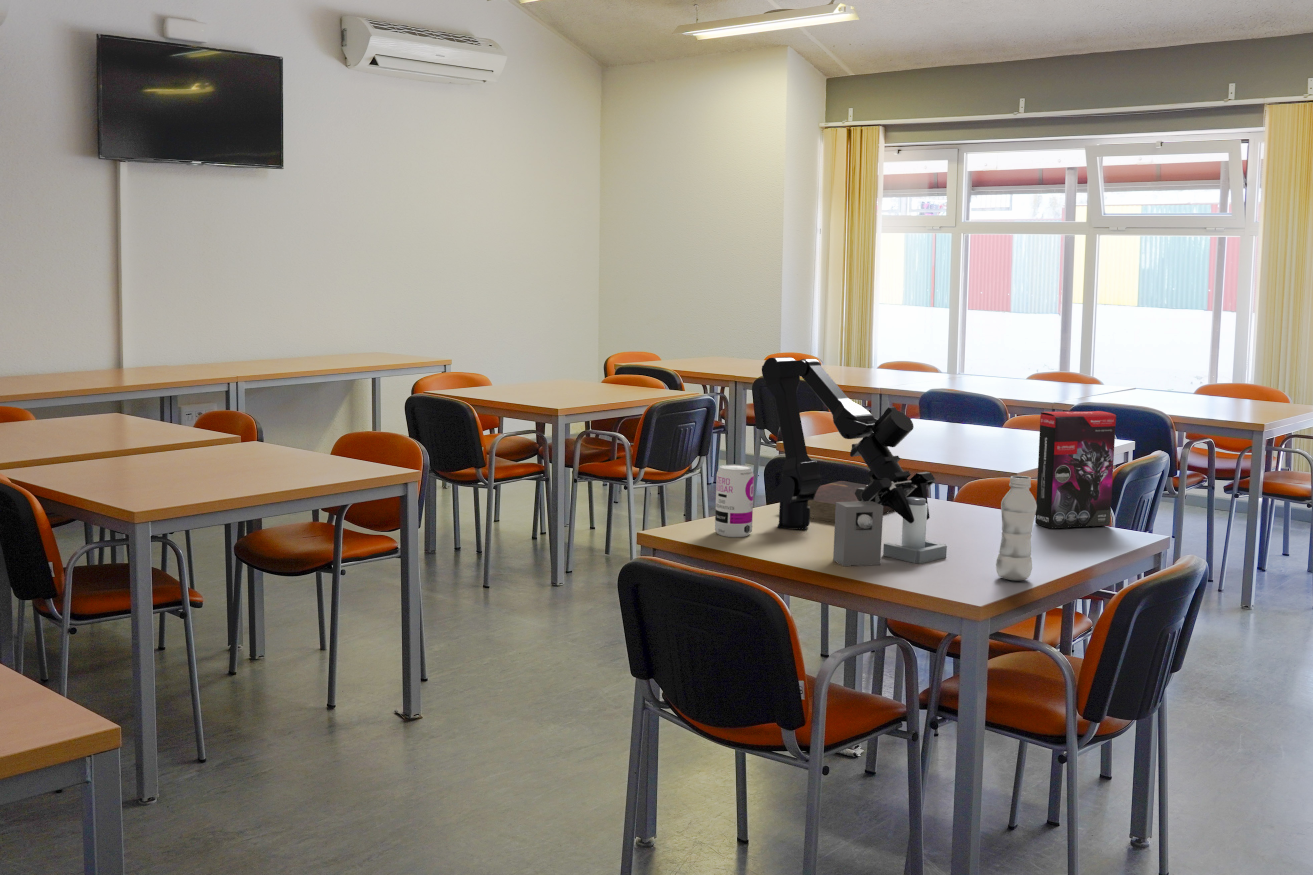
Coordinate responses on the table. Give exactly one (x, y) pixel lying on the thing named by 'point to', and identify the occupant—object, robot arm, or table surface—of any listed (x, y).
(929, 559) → the cradle
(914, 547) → the cylinder
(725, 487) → the supplement can
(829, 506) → the hardback book
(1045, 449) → the graphics card box
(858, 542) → the block
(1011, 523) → the plastic bottle
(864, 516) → the plunger
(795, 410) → the robot arm
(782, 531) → the table surface
